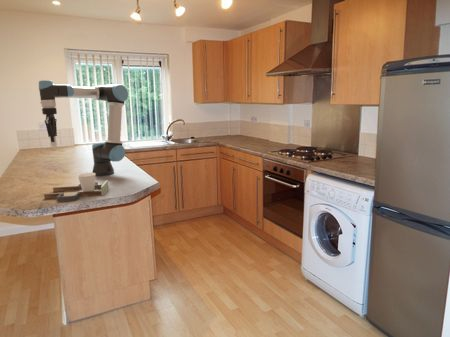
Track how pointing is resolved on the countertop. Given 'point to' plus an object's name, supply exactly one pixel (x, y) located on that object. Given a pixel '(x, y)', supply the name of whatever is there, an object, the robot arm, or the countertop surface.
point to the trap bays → (70, 198)
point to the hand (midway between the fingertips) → (54, 147)
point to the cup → (87, 181)
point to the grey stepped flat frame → (73, 188)
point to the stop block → (104, 187)
